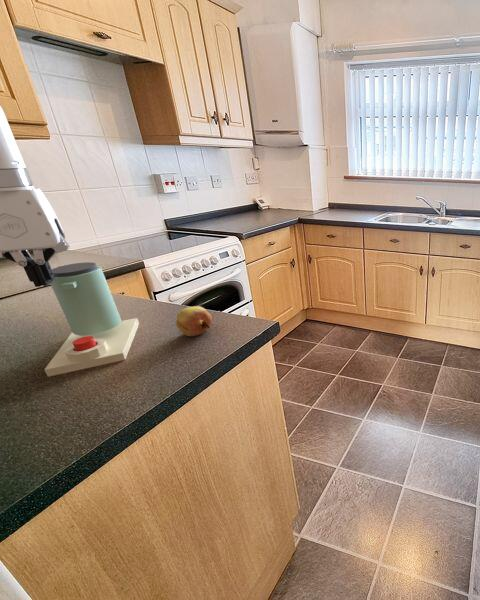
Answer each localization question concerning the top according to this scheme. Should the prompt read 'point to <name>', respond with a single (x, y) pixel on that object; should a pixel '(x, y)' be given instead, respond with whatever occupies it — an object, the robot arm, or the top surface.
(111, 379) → the top surface
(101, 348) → the kettle base
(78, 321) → the kettle
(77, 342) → the switch
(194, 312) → the fruit
